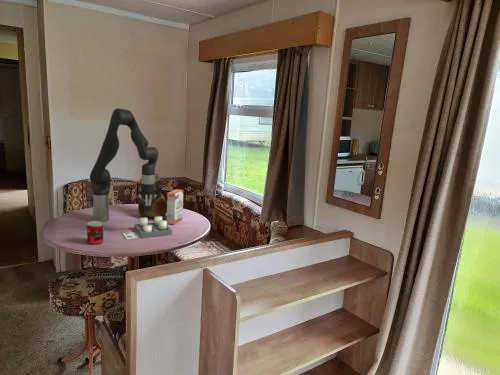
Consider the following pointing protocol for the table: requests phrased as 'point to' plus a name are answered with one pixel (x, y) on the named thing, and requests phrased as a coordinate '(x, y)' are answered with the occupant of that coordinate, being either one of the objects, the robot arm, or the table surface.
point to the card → (131, 235)
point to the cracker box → (174, 206)
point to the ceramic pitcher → (159, 206)
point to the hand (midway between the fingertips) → (147, 211)
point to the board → (154, 232)
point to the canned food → (95, 232)
